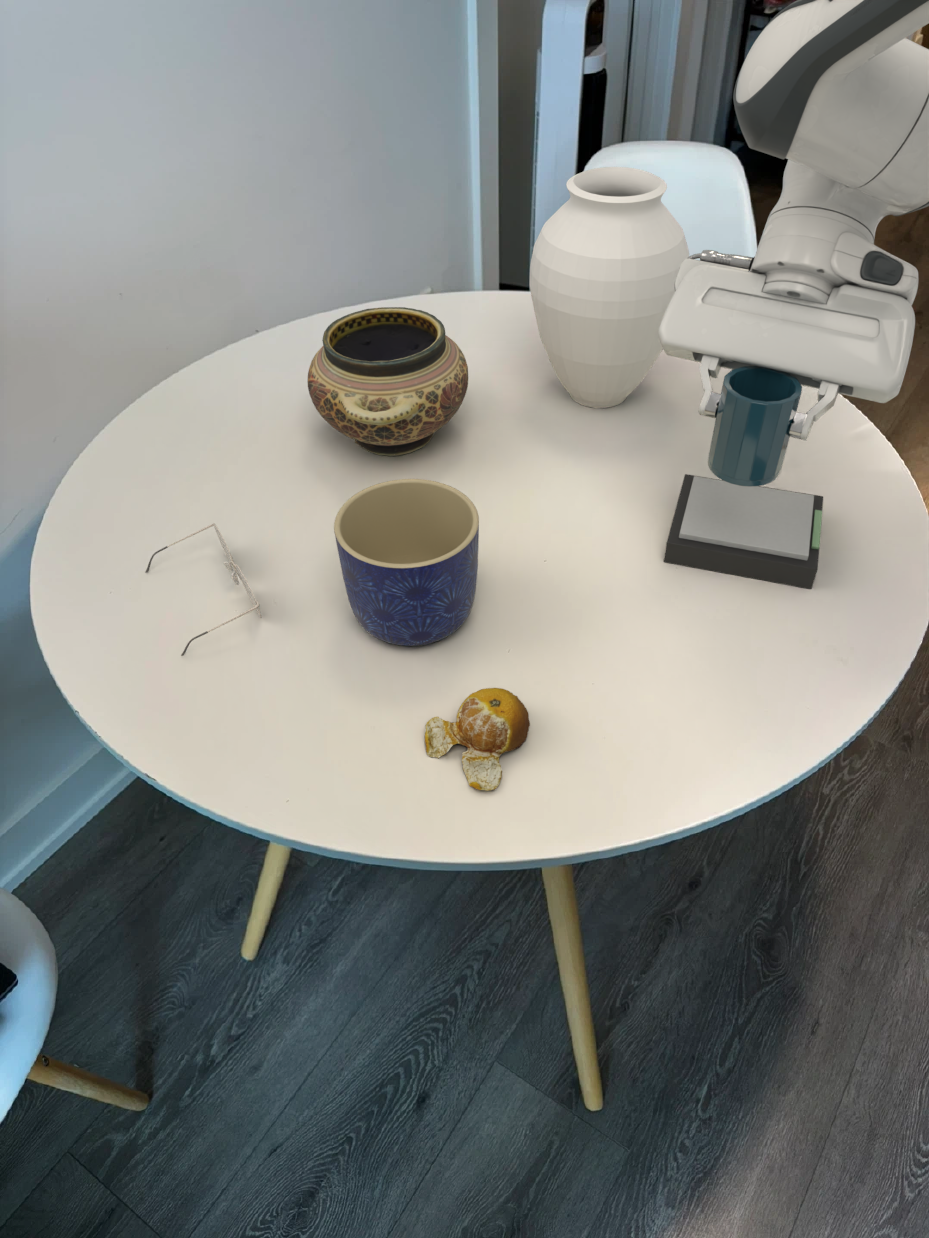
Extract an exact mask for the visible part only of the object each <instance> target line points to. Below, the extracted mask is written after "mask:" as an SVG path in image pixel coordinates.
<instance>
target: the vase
mask: <svg viewBox="0 0 929 1238" xmlns="http://www.w3.org/2000/svg"><path fill="white" fill-rule="evenodd" d="M565 183H566V184H565V186H566V189H567V190H568V193H569V198H568V200H567V201H565V202H564V203H563V204H562V205H561V206H560V207H559V208H558V209H557V210H556V211H555V212H554V213H553V214H552V215H550V217H549V218H548V219H547V220H546V221H545V222H544V224H543V226H542V228H541V229H540V231H539V234H538V236H537V237H536V240H535V242H534V245H533V249H532V254H531V257H530V258H531V259H530V264H529V265H530V266H529V291H530V295H531V301H532V306H533V310H534V316H535V320H536V321H535V322H536V326H537V330H538V333H539V337H540V340H541V343H542V345H543V347H544V350H545V353H546V355H547V357H548V360H549V362H550V365H551V366H552V368H553V370H554V373H555V376H556V377H557V379H558V380H559V382H560V383H561V385H562V387H564V389H565V390H566V392H568V393H569V396H570V398H571V399H572V400H573V401H574V402H575V403H577V404H579V405H581V406H584V407H588V408H593V409H594V408H595V409H605V408H606V409H608V408H613V407H615V406H618V405H620V404H623V402H624V401H626V399H627V397H628V396H629V395H630V394H632V393H633V392H634V391H635V390H636V389H637V387H638V386H639V385H640V384H641V383H642V382H643V380H644V379H645V378H646V376H647V374H648V373H649V371H650V370H651V369H652V367H653V366H654V364H655V363H656V361H657V359H658V358H659V357H660V354H661V353H662V351H664V349H663V348H662V346H661V344H660V341H659V338H658V330H659V326H660V324H661V321H662V319H663V316H664V314H665V312H666V309H667V307H668V305H669V303H670V301H671V299H672V297H673V295H674V293H675V290H674V283H675V279H676V276H677V273H678V271H679V268H680V266H681V264H682V262H683V261H684V260H685V259H686V258H688V257H689V256H690V249H689V246H688V243H687V238H686V236H685V232H684V229H683V227H682V225H680V223H679V222H678V221H677V219H676V218H675V217H674V215H673V214H672V213H671V212H670V210H669V209H668V208H667V206H666V205H665V204H664V203H663V202H662V197H663V195H664V194H665V192H666V191H667V188H668V185H667V183H666V181H665V180H664V179H662V177H660V176H658V175H656V174H653V173H652V172H649V171H647V170H644V169H640V168H634V167H626V166H603V167H596V168H591V169H587V170H584V171H582V172H579V173H577V174H575V175H573V176H571V177H570V178H569V179H567V181H566V182H565Z"/></svg>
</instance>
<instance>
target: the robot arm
mask: <svg viewBox="0 0 929 1238" xmlns="http://www.w3.org/2000/svg"><path fill="white" fill-rule="evenodd" d="M928 24H929V0H795V1H793V2H791V3H789V4H788V5H787V6H785V7H784V8H783V9H781V10H780V11H779V12H778V13H776V14H775V15H774V16H773V17H772V18H771V19H770V21H769V22H768V23H767V24H766V25H765V27H764V28H763V29H762V31H761V32H760V34H759V35H758V37H757V38H756V39H755V41H754V42H753V44H752V46H751V47H750V49H749V50H748V53H747V55H746V57H745V59H744V61H743V63H742V65H741V68H740V69H739V72H738V75H737V78H736V81H735V85H734V89H733V94H732V95H733V96H732V100H733V105H734V111H735V115H736V118H737V121H738V125H739V128H740V130H741V131H740V132H741V133H742V136H743V138H744V140H745V143H746V145H747V146H748V148H749V149H751V150H754V151H757V152H760V153H764V154H767V155H769V156H772V157H776V158H778V159H781V160H785V159H786V160H787V162H786V165H785V168H784V171H783V177H782V190H781V193H780V197H779V199H778V200H777V202H776V204H775V205H774V207H772V210H771V211H770V212H769V215H768V217H767V220H766V223H765V225H764V229H763V230H762V235H761V236H760V240H759V243H758V246H757V249H756V252H755V255H754V256H746V255H741V254H735V253H734V254H733V253H722V252H719V251H717V250H713V249H703V250H702V251H701V252H699V253H693V254H691V255H689V257H688V258H686V259H685V260H684V261H683V262H682V264H681V266H680V268H679V271H678V273H677V276H676V279H675V283H674V290H675V293H674V295H673V297H672V299H671V301H670V303H669V305H668V307H667V309H666V312H665V314H664V316H663V319H662V321H661V324H660V326H659V330H658V338H659V341H660V344H661V346H662V348H663V351H664V353H665V354H666V355H667V356H669V357H672V358H679V359H683V360H688V361H691V362H696V363H700V364H699V366H698V369H699V374H700V379H701V383H702V388H703V395H702V398H701V401H700V403H699V407H698V413H699V415H700V416H703V417H707V418H712V419H715V420H716V416H717V411H718V406H719V401H720V396H721V393H718V392H714V390H713V385H712V379H717V378H718V377H719V375H720V371H721V368H722V369H728V370H730V371H732V370H734V369H737V368H740V367H744V366H760V367H765V368H769V369H774V370H778V371H783V372H787V373H789V374H790V375H792V376H793V377H795V378H796V379H797V380H798V381H799V383H800V384H801V386H802V387H803V386H804V387H808V388H813V389H816V390H818V391H817V402H816V403H815V404H814V405H813V406H812V407H811V408H810V409H809V410H808V411H807V412H806V413H805V412H800V411H796V414H795V416H794V419H793V421H794V423H793V424H791V427H790V430H789V436H790V438H793V439H798V440H802V441H808V438H809V436H810V433H811V430H812V427H813V425H814V422H817V421H818V420H819V419H820V418H821V417H823V415H825V414H826V413H827V412H828V411H829V410H831V409H832V408H833V407H834V406H835V403H836V400H837V397H838V395H842V396H843V395H844V396H848V397H852V398H857V399H861V400H866V401H871V402H875V403H879V404H886V403H888V402H889V401H891V400H893V399H895V398H896V397H897V396H899V394H900V391H901V388H902V386H903V381H904V379H905V375H906V371H907V369H908V364H909V360H910V355H911V351H912V346H913V341H914V335H915V328H916V315H915V311H914V308H913V304H914V301H915V298H916V296H917V293H918V289H919V271H918V269H917V267H916V266H914V265H913V264H911V263H910V262H907V261H905V260H904V259H902V258H900V257H898V256H896V255H894V254H892V253H891V252H888V251H886V250H885V249H883V248H881V247H879V246H877V245H876V244H875V240H876V239H875V237H876V231H877V227H878V225H879V223H880V222H881V221H882V220H883V219H884V218H885V217H888V216H892V217H901V216H904V215H907V214H911V213H914V212H916V211H920V210H922V209H925V208H927V207H929V48H927V47H924V46H923V45H921V44H918V43H917V42H914V41H913V40H910V39H908V37H909V36H911V35H913V34H914V33H916V32H917V31H919V30H920V29H922V28H923V27H925V26H927V25H928ZM698 259H699V260H698ZM711 378H712V379H711Z"/></svg>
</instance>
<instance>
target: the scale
mask: <svg viewBox="0 0 929 1238" xmlns="http://www.w3.org/2000/svg"><path fill="white" fill-rule="evenodd" d="M823 504H824V496H823V495H819V494H818V495H817V494H811V493H806V492H799V491H792V490H787V489H781V488H775V487H767V486H763V485H761V486H750V487H749V486H739V485H735V484H731V483H728V482H726V481H724V480H722V479H720V478H712V477H707V476H700V475H694V474H687V473H685V474H684V476H683V480H682V483H681V488H680V490H679V495H678V499H677V503H676V505H675V509H674V514H673V517H672V520H671V525H670V528H669V533H668V536H667V540H666V544H665V550H664V552H665V553H664V557H663V563H668V564H673V565H678V566H683V567H684V566H685V567H689V568H694V569H700V570H704V571H711V572H716V573H721V574H726V575H730V576H731V575H732V576H736V577H737V576H738V577H743V578H748V579H754V580H758V581H759V580H760V581H764V582H770V583H775V584H781V585H785V586H786V585H787V586H790V587H798V588H801V589H802V588H803V589H807V590H812V588H813V585H814V583H815V580H816V576H817V573H818V568H819V558H820V557H819V556H820V547H821V546H820V544H821V533H822V532H821V531H822V521H823V520H822V519H823V518H822V517H823V507H824V506H823Z"/></svg>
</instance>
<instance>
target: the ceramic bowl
mask: <svg viewBox="0 0 929 1238" xmlns="http://www.w3.org/2000/svg"><path fill="white" fill-rule="evenodd" d="M468 386H469V366H468V362H467V360H466V357H465V354H464V353H463V351H462V349H461V348H460V347H459V345H458V344H457V343H456V341H454V340H453V339H452V338H450V337H449V336H447V335H446V329H445V325H444V323H443V322H442V321H441V320H440V319H438V318H437V317H436V315H434V314H431V313H429V312H427V311H425V310H422V309H416V308H410V307H405V306H403V307H402V306H390V307H389V306H388V307H384V306H383V307H382V306H381V307H373V308H366V309H362V310H357V311H354V312H352V313H348V314H346V315H343V316H342V317H339V318H337V319H335V320H334V321H332V323H330V324H329V325H328V326H327V327H326V329H325V330H324V332H323V334H322V346H321V347H320V348H319V349H318V350H317V352H316V353H315V354H314V356H313V357H312V359H311V362H310V365H309V367H308V372H307V389H308V394H309V396H310V399H311V402H312V405H314V408H315V409H316V411H317V412H318V414H319V415H320V416H321V417H322V418H323V419H324V420H325V422H327V424H328V425H330V426H331V427H332V428H333V429H335V430H336V431H337V432H339V433H341V434H342V435H344V436H345V437H348V438H349V439H352V440H354V441H355V443H356V444H357V445H358V446H359V447H360V448H362V449H364V450H365V451H367V452H369V453H372V454H375V455H379V456H385V457H386V456H387V457H389V456H390V457H391V456H393V457H394V456H395V457H396V456H402V455H407V454H410V453H413V452H415V451H418V450H420V449H422V448H423V447H425V446H426V445H427V444H428V443H429V442H430V441H431V439H432V438H433V437H434V434H435V433H436V432H437V431H439V430H440V429H442V428H443V427H444V426H445V425H447V424H448V422H450V420H452V418H453V417H454V415H456V413H457V412H458V411H459V409H460V407H461V405H462V404H463V402H464V401H465V397H466V395H467V390H468Z"/></svg>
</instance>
